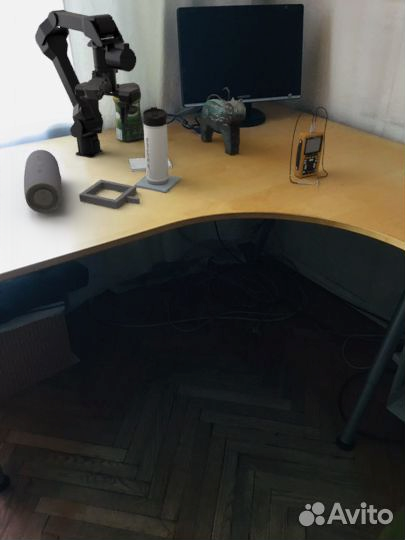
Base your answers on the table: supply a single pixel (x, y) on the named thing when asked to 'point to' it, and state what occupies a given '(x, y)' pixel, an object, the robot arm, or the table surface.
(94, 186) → the collar
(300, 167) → the multimeter
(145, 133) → the travel mug
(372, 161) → the table surface
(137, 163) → the hard drive
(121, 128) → the coffee jar
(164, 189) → the mat
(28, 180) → the bluetooth speaker
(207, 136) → the animal figurine
